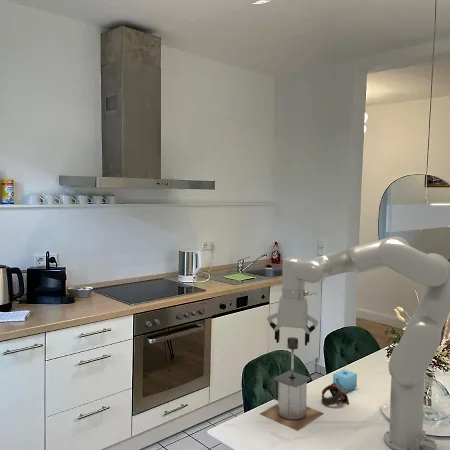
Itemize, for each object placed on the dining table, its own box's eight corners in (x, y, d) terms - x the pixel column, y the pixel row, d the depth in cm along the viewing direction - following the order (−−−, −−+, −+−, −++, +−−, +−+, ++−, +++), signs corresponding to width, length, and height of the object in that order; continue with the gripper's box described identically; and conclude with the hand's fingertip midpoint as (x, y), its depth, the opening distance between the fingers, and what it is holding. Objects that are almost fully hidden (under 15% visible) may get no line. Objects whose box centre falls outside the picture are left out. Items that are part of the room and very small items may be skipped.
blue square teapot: (341, 397, 171) (341, 378, 170) (327, 392, 176) (328, 373, 175) (358, 388, 179) (359, 369, 178) (345, 383, 183) (345, 365, 183)
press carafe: (311, 413, 156) (312, 377, 155) (295, 423, 148) (295, 386, 148) (283, 402, 164) (283, 368, 163) (266, 411, 157) (266, 375, 156)
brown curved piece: (353, 412, 160) (344, 395, 158) (329, 421, 162) (319, 404, 160) (347, 390, 171) (338, 373, 169) (324, 398, 173) (315, 382, 171)
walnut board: (324, 416, 156) (324, 413, 156) (297, 434, 144) (297, 430, 144) (286, 401, 167) (286, 398, 167) (259, 417, 155) (259, 413, 155)
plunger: (305, 384, 155) (306, 338, 154) (294, 390, 150) (295, 343, 149) (289, 379, 159) (290, 334, 158) (278, 385, 155) (279, 339, 154)
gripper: (319, 293, 154) (318, 341, 155) (269, 289, 158) (268, 337, 160) (318, 298, 147) (317, 349, 148) (266, 294, 151) (265, 344, 152)
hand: (291, 343), depth 154 cm, fingers open, 9 cm apart
